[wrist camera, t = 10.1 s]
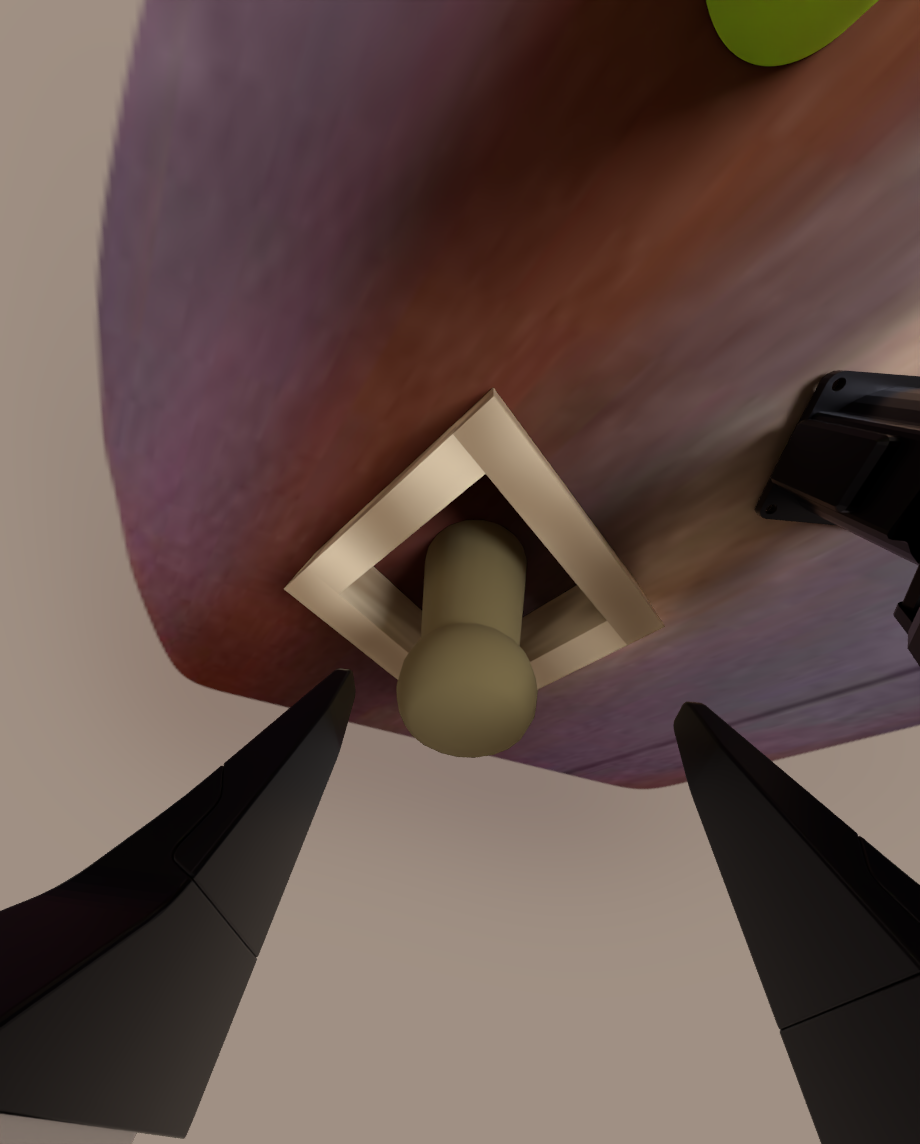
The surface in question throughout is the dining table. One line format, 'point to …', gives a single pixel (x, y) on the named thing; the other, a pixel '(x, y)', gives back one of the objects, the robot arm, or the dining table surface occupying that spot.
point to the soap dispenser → (782, 26)
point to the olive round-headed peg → (470, 645)
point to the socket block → (522, 474)
